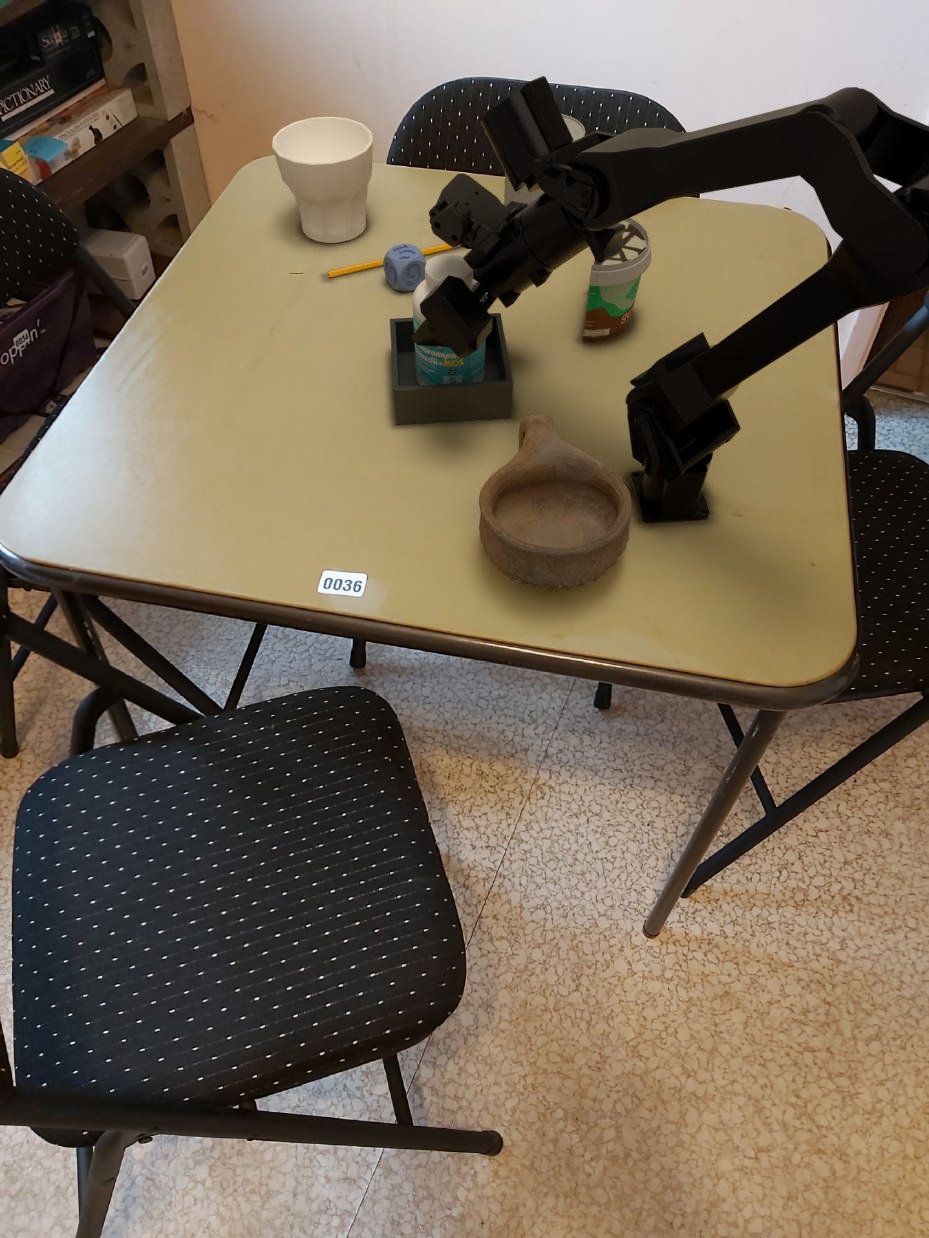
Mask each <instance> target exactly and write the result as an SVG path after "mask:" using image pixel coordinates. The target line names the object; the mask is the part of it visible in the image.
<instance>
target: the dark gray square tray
mask: <svg viewBox="0 0 929 1238" xmlns="http://www.w3.org/2000/svg"><path fill="white" fill-rule="evenodd" d="M488 313H489V314H490V315H491V316H492V331H491V332H490V333H489V335H488V336H487V337H486V341H485V372H484V381H483V382H467V383H450V384H432V385H419V384H418V381H417V377H416V360H415V342H414V340H413V339H412V335H413V334H414V322H413V317H396V318H389V332H390V333H389V334H390V353H391V375H392V391H393V392H392V393H393V402H394V413H395V424H396V425H397V426H398V425H413V424H430V423H431V424H432V423H433V424H434V423H446V422H450V423H451V422H465V421H482V420H483V421H484V420H496V419H498V420H499V419H511V418H513V417H512V416H513V398H514V380H513V379H514V378H513V374H512V368H511V364H510V357H509V352H508V347H507V341H506V336H505V331H504V325H503V319H502V313H501V312H492V313H491V312H488Z"/></svg>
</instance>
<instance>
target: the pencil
mask: <svg viewBox="0 0 929 1238" xmlns="http://www.w3.org/2000/svg"><path fill="white" fill-rule="evenodd" d="M458 248H463V247H462V246H460V245H458V246H457V247H451V246H450V245H448V244H447V243H444V244H440V245H436V246H431V247H426V248H423V249H420V250H421V252H422V253H423V255H424V257H425V256H429V255H433V254H437V253H442V252H446V251H450V250H454V249H458ZM383 260H384V258H381V259H377V260H372V261H368V262H364V263H360V264H356V265H351V266H347V267H343V268H338V269H334V270H331V271H327V276H328V278H329V279H333V278H337V277H338V278H339V277H341V276H345V275H350V274H355V273H359V272H363V271H367V270H371V269H374V268H379V267H383Z"/></svg>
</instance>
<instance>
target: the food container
mask: <svg viewBox="0 0 929 1238" xmlns="http://www.w3.org/2000/svg"><path fill="white" fill-rule="evenodd" d="M619 223H620V224H624V225H625V227H626V229H625V231H624V233H623V244H622V251H621V253H620V254H618V255H616V256H614V257H612V258H610V259H608V260H606V261H604V262H602V263H598V262H597V261H596V260H595V259H594V261H593V264H591V266H590V267H591V269H590V275H589V282H588V293H587V302H586V309H585V318H584V326H583V334H582V342H588V343H595V342H605V341H608V340H611V339H615V338H617V337H619V336H620V335H621V334H623V333H624V332H625V331H627V329H628V327H629V325H630V321H631V318H632V314H633V310H634V306H635V301H636V298H637V294H638V291H639V286H640V283H641V279H642V276H643V274H644V273H645V272H646V271H648V269H649V267H650V266H651V263H652V243H651V239H650V236H649V233H648V230H647V229H646V228H645V227H644V225H642V224H641V223H640V222H638V221H637V220H635V219H634V218H632V217H630V218H628V219H626V220H624V221H622V222H619Z"/></svg>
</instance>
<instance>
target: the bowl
mask: <svg viewBox="0 0 929 1238" xmlns="http://www.w3.org/2000/svg"><path fill="white" fill-rule="evenodd" d="M557 432H558V431H556V429H555V424H554V420H553V417H552V416H551V415H550V414H546V413H544V414H543V413H542V414H541V413H540V414H531V415H527V416H524V417H523V418H522V419H521V420H520V423H519V428H518V451H517V452H516V453H515V455H513V457H511V459H510V460H509V461H508V462H507V463H506V464H504V465H503V466H501V467H500V468H498V469H497V470H496V471H494V473H492V474H491V476H489V477H488V478H487V480H486V481H485V482H484V484H483V485H482V487H481V489H480V492H479V495H478V505H479V512H480V513H479V514H480V515H479V523H478V531H479V533H478V535H479V539H480V542H481V545H482V546H483V549H484V552H485V554H486V555H487V557H488V559H489V561H490V562H491V563H492V565H494V566H495V568H497V571H499V572H500V573H502V574H503V575H505V576H506V577H507V578H509V579H510V580H512V581H516V582H517V583H518V584H521V585H528V586H530V587H532V588H538V589H545V590H554V589H555V590H563V589H565V590H568V591H569V590H574V589H575V588H577V587H585V586H587V585H588V584H589V583H592V582H596V581H597V580H599V579H600V578H601V577H602V576H604V575H606V573H607V572H609V571H610V569H611V568H613V566H616V564H617V563H618V561H619V559H620V557H621V556H623V553H624V551H625V550H626V548H627V544H628V542H629V540H630V533H631V532H630V529H631V528H630V522H631V517H632V514H633V513H632V512H633V503H632V497H631V492H630V489H628V487H627V486H626V485H625V482H624V480H623V478H622V477H621V475H619V474H617V473H616V472H615V471H614V470H612V469H611V468H610V467H608V466H607V465H605V464H603V463H602V462H601V461H598V460H597V459H595V458H594V457H592V456H591V455H590V454H588V453H586V452H584V451H583V450H581V449H578V448H577V447H575V446H574V445H572V444H571V443H568V442H567V441H566V440H564V439H563V438H562V437H561V436H560V435H559V434H558V433H557Z"/></svg>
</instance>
